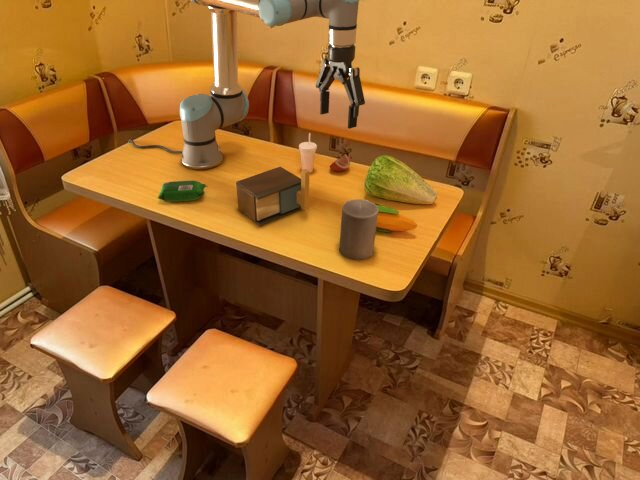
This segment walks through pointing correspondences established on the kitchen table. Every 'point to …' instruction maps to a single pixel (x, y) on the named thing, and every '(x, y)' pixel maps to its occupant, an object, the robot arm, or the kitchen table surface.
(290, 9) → the robot arm
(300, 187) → the sliding door
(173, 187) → the snack package
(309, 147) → the smoothie
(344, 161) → the fruit slice
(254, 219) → the box
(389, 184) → the lettuce
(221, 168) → the kitchen table surface
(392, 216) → the corn
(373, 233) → the pillar candle
